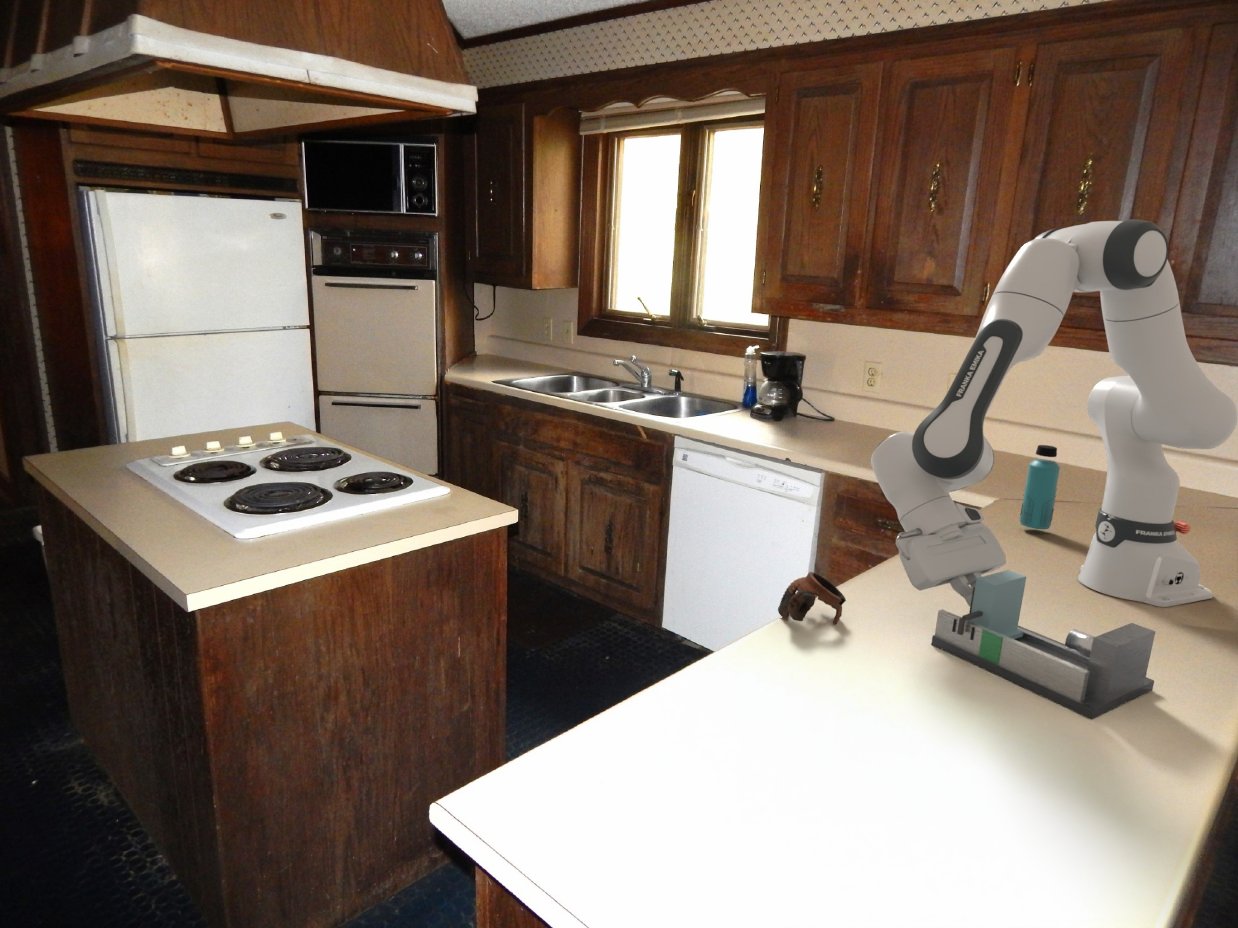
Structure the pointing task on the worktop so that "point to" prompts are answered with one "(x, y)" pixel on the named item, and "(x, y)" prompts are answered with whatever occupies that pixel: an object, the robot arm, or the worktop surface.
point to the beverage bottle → (1040, 490)
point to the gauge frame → (1058, 662)
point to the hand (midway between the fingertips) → (980, 604)
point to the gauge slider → (997, 603)
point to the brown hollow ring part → (810, 597)
